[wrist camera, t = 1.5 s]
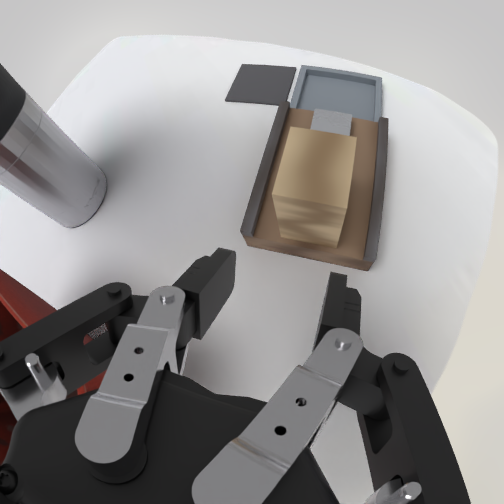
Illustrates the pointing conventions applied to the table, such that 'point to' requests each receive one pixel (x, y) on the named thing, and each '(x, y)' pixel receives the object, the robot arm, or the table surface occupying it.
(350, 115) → the chip
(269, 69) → the mat
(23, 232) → the table surface
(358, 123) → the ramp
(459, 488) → the robot arm
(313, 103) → the tray
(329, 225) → the tall wooden block
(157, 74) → the table surface
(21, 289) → the plant pot
